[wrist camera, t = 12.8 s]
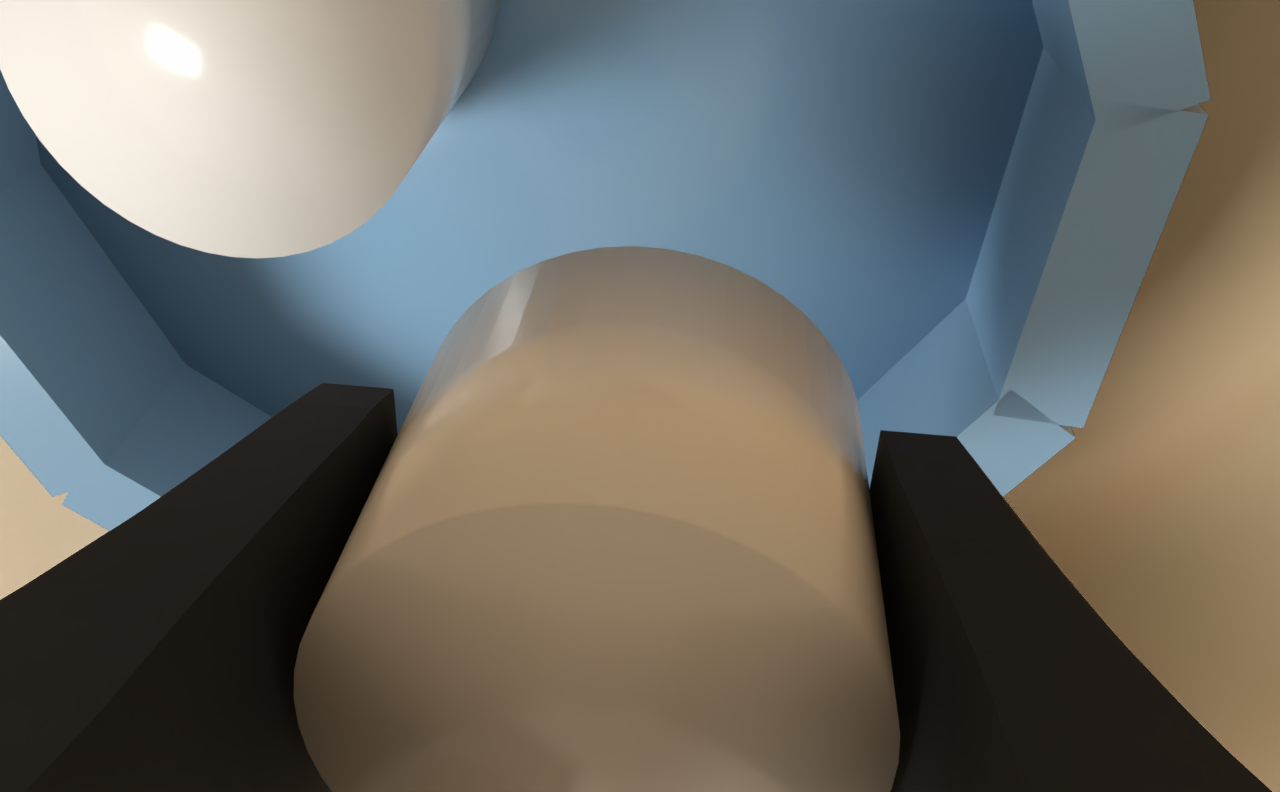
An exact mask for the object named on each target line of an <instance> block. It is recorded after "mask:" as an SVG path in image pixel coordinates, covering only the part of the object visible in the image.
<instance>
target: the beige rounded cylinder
mask: <svg viewBox="0 0 1280 792" xmlns="http://www.w3.org/2000/svg"><path fill="white" fill-rule="evenodd" d="M294 703H295V709H296V715H297V721H298V726H299V729H300V731H301V734H302V737H303V740H304V743H305V746H306V749H307V751H308V753H309V755H310V757H311V759H312V761H313V762H314V764H315V766H316V768H317V770H318V772H319V774H320V775H321V777H322V778H323V780H324V781H325V783H326V784H327V785H328V787H329V788H330V789H331V791H332V792H890V791H891V789H892V786H893V782H894V778H895V774H896V770H897V766H898V763H899V748H900V728H899V720H898V712H897V704H896V696H895V688H894V680H893V672H892V664H891V656H890V648H889V640H888V632H887V624H886V616H885V608H884V600H883V592H882V584H881V576H880V568H879V560H878V552H877V544H876V537H875V529H874V521H873V513H872V505H871V497H870V489H869V481H868V473H867V465H866V457H865V449H864V441H863V433H862V426H861V418H860V411H859V405H858V402H857V399H856V396H855V392H854V389H853V386H852V382H851V380H850V378H849V376H848V374H847V372H846V370H845V368H844V366H843V364H842V362H841V360H840V358H839V356H838V355H837V353H836V352H835V350H834V349H833V347H832V346H831V344H830V343H829V342H828V340H827V339H826V337H825V336H824V334H823V333H822V332H821V331H820V330H819V329H818V328H817V327H816V326H815V325H814V323H813V322H812V321H811V320H810V319H809V318H808V317H807V316H806V315H805V314H804V313H803V312H802V311H801V310H799V309H798V308H797V307H796V306H795V305H793V304H792V303H791V302H790V301H789V300H787V299H786V298H785V297H784V296H783V295H781V294H780V293H778V292H777V291H775V290H773V289H772V288H770V287H769V286H767V285H766V284H764V283H762V282H761V281H759V280H758V279H756V278H754V277H752V276H750V275H748V274H745V273H743V272H741V271H739V270H737V269H735V268H733V267H731V266H729V265H726V264H723V263H720V262H717V261H714V260H711V259H708V258H705V257H702V256H699V255H694V254H690V253H685V252H680V251H675V250H670V249H663V248H651V247H639V246H625V247H602V248H596V249H589V250H583V251H577V252H571V253H568V254H564V255H561V256H558V257H554V258H551V259H547V260H544V261H541V262H539V263H537V264H535V265H532V266H530V267H528V268H526V269H523V270H521V271H519V272H517V273H515V274H513V275H512V276H510V277H508V278H507V279H505V280H503V281H502V282H500V283H499V284H497V285H495V286H494V287H492V288H491V289H490V290H489V291H487V292H486V293H485V294H484V295H483V296H481V297H480V298H479V299H478V300H477V301H475V302H474V303H473V304H472V305H471V306H470V307H469V308H468V309H467V310H466V311H465V313H464V314H463V315H462V316H461V317H460V318H459V319H458V320H457V322H456V323H455V324H454V325H453V327H452V328H451V330H450V331H449V333H448V334H447V336H446V338H445V339H444V341H443V342H442V344H441V345H440V347H439V349H438V351H437V354H436V356H435V358H434V360H433V362H432V364H431V366H430V368H429V370H428V372H427V375H426V377H425V379H424V381H423V383H422V385H421V387H420V389H419V391H418V394H417V396H416V398H415V400H414V402H413V404H412V406H411V408H410V410H409V412H408V415H407V417H406V419H405V421H404V423H403V425H402V427H401V429H400V431H399V434H398V436H397V438H396V440H395V442H394V444H393V446H392V448H391V450H390V452H389V455H388V457H387V459H386V461H385V463H384V465H383V467H382V469H381V471H380V474H379V476H378V478H377V480H376V482H375V484H374V486H373V488H372V490H371V492H370V495H369V497H368V499H367V501H366V503H365V505H364V507H363V509H362V511H361V514H360V516H359V518H358V520H357V522H356V524H355V526H354V528H353V530H352V532H351V535H350V537H349V539H348V541H347V543H346V545H345V547H344V549H343V551H342V554H341V556H340V558H339V560H338V562H337V564H336V566H335V568H334V570H333V572H332V575H331V577H330V579H329V581H328V583H327V585H326V587H325V589H324V591H323V594H322V596H321V598H320V600H319V602H318V604H317V606H316V608H315V610H314V612H313V615H312V617H311V619H310V621H309V624H308V626H307V628H306V631H305V633H304V635H303V638H302V640H301V642H300V645H299V650H298V655H297V659H296V664H295V669H294Z"/></svg>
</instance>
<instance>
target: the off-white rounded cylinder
mask: <svg viewBox="0 0 1280 792" xmlns="http://www.w3.org/2000/svg"><path fill="white" fill-rule="evenodd" d="M498 11H499V0H0V70H1V72H2V75H3V77H4V79H5V82H6V84H7V87H8V89H9V91H10V93H11V95H12V96H13V98H14V100H15V102H16V104H17V106H18V107H19V109H20V111H21V113H22V115H23V116H24V118H25V119H26V121H27V122H28V124H29V125H30V127H31V128H32V130H33V131H34V133H35V134H36V136H37V137H38V139H39V140H40V141H41V143H42V144H43V145H44V146H45V147H46V149H47V150H48V151H49V152H50V153H51V155H52V156H53V157H54V158H55V159H56V161H57V162H58V163H59V164H60V165H61V166H62V167H63V168H64V169H65V170H66V171H67V172H68V173H69V174H70V175H71V176H72V177H73V178H74V179H75V180H76V181H77V182H78V183H79V184H80V185H81V186H82V187H83V188H85V189H86V190H87V191H88V192H90V193H91V194H92V195H93V196H94V197H96V198H97V199H98V200H99V201H101V202H102V203H103V204H104V205H106V206H107V207H109V208H110V209H112V210H113V211H115V212H116V213H118V214H119V215H121V216H122V217H124V218H125V219H127V220H128V221H130V222H132V223H134V224H136V225H138V226H139V227H141V228H143V229H145V230H147V231H149V232H151V233H153V234H155V235H157V236H159V237H162V238H164V239H167V240H169V241H172V242H174V243H177V244H179V245H182V246H186V247H189V248H192V249H196V250H199V251H203V252H206V253H212V254H218V255H223V256H229V257H241V258H272V257H284V256H289V255H294V254H299V253H304V252H308V251H311V250H314V249H317V248H320V247H323V246H325V245H328V244H331V243H333V242H335V241H336V240H338V239H340V238H342V237H344V236H346V235H348V234H350V233H352V232H353V231H354V230H356V229H357V228H358V227H360V226H361V225H362V224H364V223H365V222H367V221H368V220H369V219H371V218H372V217H373V216H374V215H375V214H376V213H377V212H378V211H379V210H380V209H381V208H382V207H383V206H384V205H385V204H386V203H387V201H388V200H389V199H390V197H391V196H392V195H393V193H394V192H395V190H396V189H397V188H398V186H399V185H400V184H401V182H402V181H403V179H404V178H405V176H406V175H407V173H408V172H409V170H410V169H411V168H412V166H413V165H414V163H415V162H416V160H417V159H418V157H419V156H420V154H421V153H422V151H423V150H424V149H425V147H426V146H427V144H428V143H429V141H430V140H431V138H432V137H433V135H434V134H435V132H436V131H437V129H438V128H439V127H440V125H441V124H442V122H443V121H444V119H445V118H446V116H447V115H448V113H449V112H450V110H451V109H452V107H453V106H454V105H455V103H456V102H457V100H458V99H459V97H460V96H461V94H462V93H463V91H464V90H465V88H466V87H467V85H468V84H469V83H470V81H471V80H472V78H473V77H474V75H475V74H476V72H477V71H478V69H479V67H480V65H481V63H482V61H483V59H484V57H485V55H486V53H487V51H488V48H489V45H490V42H491V40H492V37H493V34H494V30H495V26H496V21H497V16H498Z"/></svg>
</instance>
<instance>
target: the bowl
mask: <svg viewBox="0 0 1280 792" xmlns="http://www.w3.org/2000/svg"><path fill="white" fill-rule="evenodd" d="M1209 100H1211V99H1210V93H1209V87H1208V82H1207V76H1206V70H1205V65H1204V59H1203V53H1202V48H1201V42H1200V37H1199V31H1198V25H1197V20H1196V14H1195V8H1194V3H1193V0H499V11H498V16H497V21H496V26H495V30H494V34H493V37H492V40H491V42H490V45H489V48H488V51H487V53H486V55H485V57H484V59H483V61H482V63H481V65H480V67H479V69H478V71H477V72H476V74H475V75H474V77H473V78H472V80H471V81H470V83H469V84H468V85H467V87H466V88H465V90H464V91H463V93H462V94H461V96H460V97H459V99H458V100H457V102H456V103H455V105H454V106H453V107H452V109H451V110H450V112H449V113H448V115H447V116H446V118H445V119H444V121H443V122H442V124H441V125H440V127H439V128H438V129H437V131H436V132H435V134H434V135H433V137H432V138H431V140H430V141H429V143H428V144H427V146H426V147H425V149H424V150H423V151H422V153H421V154H420V156H419V157H418V159H417V160H416V162H415V163H414V165H413V166H412V168H411V169H410V170H409V172H408V173H407V175H406V176H405V178H404V179H403V181H402V182H401V184H400V185H399V186H398V188H397V189H396V190H395V192H394V193H393V195H392V196H391V197H390V199H389V200H388V201H387V203H386V204H385V205H384V206H383V207H382V208H381V209H380V210H379V211H378V212H377V213H376V214H375V215H374V216H373V217H372V218H371V219H369V220H368V221H367V222H365V223H364V224H362V225H361V226H360V227H358V228H357V229H356V230H354V231H353V232H352V233H350V234H348V235H346V236H344V237H342V238H340V239H338V240H336V241H335V242H333V243H331V244H328V245H325V246H323V247H320V248H317V249H314V250H311V251H308V252H304V253H299V254H294V255H289V256H284V257H272V258H241V257H229V256H223V255H218V254H212V253H206V252H203V251H199V250H196V249H192V248H189V247H186V246H182V245H179V244H177V243H174V242H172V241H169V240H167V239H164V238H162V237H159V236H157V235H155V234H153V233H151V232H149V231H147V230H145V229H143V228H141V227H139V226H138V225H136V224H134V223H132V222H130V221H128V220H127V219H125V218H124V217H122V216H121V215H119V214H118V213H116V212H115V211H113V210H112V209H110V208H109V207H107V206H106V205H104V204H103V203H102V202H101V201H99V200H98V199H97V198H96V197H94V196H93V195H92V194H91V193H90V192H88V191H87V190H86V189H85V188H83V187H82V186H81V185H80V184H79V183H78V182H77V181H76V180H75V179H74V178H73V177H72V176H71V175H70V174H69V173H68V172H67V171H66V170H65V169H64V168H63V167H62V166H61V165H60V164H59V163H58V162H57V161H56V159H55V158H54V157H53V156H52V155H51V153H50V152H49V151H48V150H47V149H46V147H45V146H44V145H43V144H42V143H41V141H40V140H39V139H38V137H37V136H36V134H35V133H34V131H33V130H32V128H31V127H30V125H29V124H28V122H27V121H26V119H25V118H24V116H23V115H22V113H21V111H20V109H19V107H18V106H17V104H16V102H15V100H14V98H13V96H12V95H11V93H10V91H9V89H8V87H7V84H6V82H5V79H4V77H3V75H2V72H1V70H0V436H1V437H2V438H3V439H4V441H5V442H6V443H7V444H8V445H9V446H10V448H11V449H12V450H13V451H14V452H15V454H16V455H17V456H18V457H19V458H20V459H21V461H22V462H23V463H24V464H25V465H26V466H27V468H28V469H29V470H30V471H31V472H32V474H33V475H34V476H35V477H36V478H37V479H38V481H39V482H40V483H41V484H42V485H43V487H44V488H45V489H46V490H47V491H48V492H49V494H50V495H51V496H52V497H54V496H57V495H60V494H63V493H66V492H69V493H68V495H67V496H66V498H65V500H64V502H63V503H62V505H63V506H65V507H67V508H69V509H71V510H72V511H74V512H76V513H78V514H80V515H82V516H83V517H85V518H87V519H89V520H91V521H92V522H94V523H96V524H98V525H100V526H101V527H103V528H105V529H107V530H109V531H111V530H112V529H114V528H115V527H117V526H118V525H120V524H122V523H123V522H125V521H126V520H128V519H129V518H131V517H132V516H134V515H136V514H137V513H138V512H140V511H141V510H143V509H144V508H146V507H147V506H149V505H150V504H152V503H153V502H154V501H156V500H157V499H159V498H160V497H161V496H163V495H164V494H166V493H167V492H169V491H170V490H171V489H173V488H174V487H176V486H177V485H179V484H180V483H181V482H183V481H184V480H186V479H187V478H188V477H190V476H191V475H193V474H194V473H196V472H197V471H198V470H200V469H201V468H203V467H204V466H206V465H207V464H208V463H210V462H211V461H213V460H214V459H215V458H217V457H218V456H220V455H221V454H222V453H224V452H225V451H227V450H228V449H229V448H231V447H232V446H234V445H235V444H236V443H238V442H239V441H240V440H242V439H243V438H245V437H246V436H247V435H249V434H250V433H251V432H253V431H254V430H256V429H257V428H258V427H260V426H261V425H262V424H264V423H265V422H267V421H268V420H269V419H271V418H272V417H274V416H275V415H276V414H278V413H279V412H280V411H282V410H283V409H285V408H286V407H287V406H289V405H290V404H292V403H293V402H295V401H296V400H297V399H299V398H300V397H302V396H303V395H305V394H306V393H308V392H309V391H311V390H312V389H314V388H316V387H317V386H319V385H320V384H322V383H330V384H342V385H353V386H365V387H377V388H389V389H394V400H395V410H396V421H397V432H398V434H399V431H400V429H401V427H402V425H403V423H404V421H405V419H406V417H407V415H408V412H409V410H410V408H411V406H412V404H413V402H414V400H415V398H416V396H417V394H418V391H419V389H420V387H421V385H422V383H423V381H424V379H425V377H426V375H427V372H428V370H429V368H430V366H431V364H432V362H433V360H434V358H435V356H436V354H437V351H438V349H439V347H440V345H441V344H442V342H443V341H444V339H445V338H446V336H447V334H448V333H449V331H450V330H451V328H452V327H453V325H454V324H455V323H456V322H457V320H458V319H459V318H460V317H461V316H462V315H463V314H464V313H465V311H466V310H467V309H468V308H469V307H470V306H471V305H472V304H473V303H474V302H475V301H477V300H478V299H479V298H480V297H481V296H483V295H484V294H485V293H486V292H487V291H489V290H490V289H491V288H492V287H494V286H495V285H497V284H499V283H500V282H502V281H503V280H505V279H507V278H508V277H510V276H512V275H513V274H515V273H517V272H519V271H521V270H523V269H526V268H528V267H530V266H532V265H535V264H537V263H539V262H541V261H544V260H547V259H551V258H554V257H558V256H561V255H564V254H568V253H571V252H577V251H583V250H589V249H596V248H602V247H625V246H639V247H651V248H663V249H670V250H675V251H680V252H685V253H690V254H694V255H699V256H702V257H705V258H708V259H711V260H714V261H717V262H720V263H723V264H726V265H729V266H731V267H733V268H735V269H737V270H739V271H741V272H743V273H745V274H748V275H750V276H752V277H754V278H756V279H758V280H759V281H761V282H762V283H764V284H766V285H767V286H769V287H770V288H772V289H773V290H775V291H777V292H778V293H780V294H781V295H783V296H784V297H785V298H786V299H787V300H789V301H790V302H791V303H792V304H793V305H795V306H796V307H797V308H798V309H799V310H801V311H802V312H803V313H804V314H805V315H806V316H807V317H808V318H809V319H810V320H811V321H812V322H813V323H814V325H815V326H816V327H817V328H818V329H819V330H820V331H821V332H822V333H823V334H824V336H825V337H826V339H827V340H828V342H829V343H830V344H831V346H832V347H833V349H834V350H835V352H836V353H837V355H838V356H839V358H840V360H841V362H842V364H843V366H844V368H845V370H846V372H847V374H848V376H849V378H850V380H851V382H852V386H853V389H854V392H855V396H856V399H857V402H858V405H859V411H860V418H861V426H862V433H863V441H864V449H865V457H866V465H867V473H868V481H869V489H870V484H871V479H872V473H873V468H874V463H875V457H876V452H877V447H878V441H879V436H880V431H881V430H885V431H897V432H909V433H920V434H932V435H944V436H956V437H957V438H958V440H959V441H960V442H961V443H962V445H963V446H964V447H965V448H966V450H967V451H968V452H969V453H970V455H971V456H972V457H973V458H974V460H975V461H976V462H977V464H978V465H979V466H980V468H981V469H982V470H983V471H984V473H985V474H986V475H987V477H988V478H989V479H990V481H991V482H992V483H993V485H994V486H995V487H996V488H997V490H998V491H999V492H1000V494H1001V495H1002V496H1004V495H1006V494H1007V493H1008V492H1009V491H1011V490H1012V489H1013V488H1014V487H1016V486H1017V485H1018V484H1019V483H1020V482H1022V481H1023V480H1024V479H1025V478H1027V477H1028V476H1029V475H1030V474H1032V473H1033V472H1034V471H1035V470H1037V469H1038V468H1039V467H1040V466H1042V465H1043V464H1044V463H1045V462H1047V461H1048V460H1049V459H1050V458H1051V457H1053V456H1054V455H1055V454H1056V453H1058V452H1059V451H1060V450H1061V449H1063V448H1064V447H1065V446H1066V445H1068V444H1069V443H1070V442H1071V441H1073V440H1074V439H1075V436H1074V433H1073V431H1072V428H1071V427H1078V428H1083V427H1084V425H1085V422H1086V420H1087V417H1088V415H1089V412H1090V410H1091V407H1092V405H1093V402H1094V400H1095V397H1096V395H1097V392H1098V390H1099V387H1100V385H1101V382H1102V380H1103V377H1104V375H1105V372H1106V370H1107V367H1108V365H1109V362H1110V360H1111V357H1112V355H1113V352H1114V350H1115V347H1116V345H1117V342H1118V340H1119V337H1120V335H1121V332H1122V330H1123V328H1124V325H1125V323H1126V320H1127V318H1128V315H1129V313H1130V310H1131V308H1132V305H1133V303H1134V300H1135V298H1136V295H1137V293H1138V290H1139V288H1140V285H1141V283H1142V280H1143V278H1144V275H1145V273H1146V270H1147V268H1148V265H1149V263H1150V260H1151V258H1152V255H1153V253H1154V250H1155V248H1156V245H1157V243H1158V240H1159V238H1160V235H1161V233H1162V231H1163V228H1164V226H1165V223H1166V221H1167V218H1168V216H1169V213H1170V211H1171V208H1172V206H1173V203H1174V201H1175V198H1176V196H1177V193H1178V191H1179V188H1180V186H1181V183H1182V181H1183V178H1184V176H1185V173H1186V171H1187V168H1188V166H1189V163H1190V161H1191V158H1192V156H1193V153H1194V151H1195V148H1196V146H1197V143H1198V141H1199V138H1200V136H1201V133H1202V131H1203V129H1204V126H1205V124H1206V121H1207V119H1208V116H1209V115H1208V114H1207V113H1206V112H1205V111H1204V110H1203V108H1202V107H1201V106H1200V105H1199V104H1200V103H1203V102H1206V101H1209Z"/></svg>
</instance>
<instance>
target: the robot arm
mask: <svg viewBox="0 0 1280 792" xmlns="http://www.w3.org/2000/svg"><path fill="white" fill-rule="evenodd" d="M397 436H398V432H397V421H396V410H395V400H394V389H389V388H377V387H365V386H353V385H342V384H330V383H322V384H320V385H319V386H317V387H316V388H314V389H312V390H311V391H309V392H308V393H306V394H305V395H303V396H302V397H300V398H299V399H297V400H296V401H295V402H293V403H292V404H290V405H289V406H287V407H286V408H285V409H283V410H282V411H280V412H279V413H278V414H276V415H275V416H274V417H272V418H271V419H269V420H268V421H267V422H265V423H264V424H262V425H261V426H260V427H258V428H257V429H256V430H254V431H253V432H251V433H250V434H249V435H247V436H246V437H245V438H243V439H242V440H240V441H239V442H238V443H236V444H235V445H234V446H232V447H231V448H229V449H228V450H227V451H225V452H224V453H222V454H221V455H220V456H218V457H217V458H215V459H214V460H213V461H211V462H210V463H208V464H207V465H206V466H204V467H203V468H201V469H200V470H198V471H197V472H196V473H194V474H193V475H191V476H190V477H188V478H187V479H186V480H184V481H183V482H181V483H180V484H179V485H177V486H176V487H174V488H173V489H171V490H170V491H169V492H167V493H166V494H164V495H163V496H161V497H160V498H159V499H157V500H156V501H154V502H153V503H152V504H150V505H149V506H147V507H146V508H144V509H143V510H141V511H140V512H138V513H137V514H136V515H134V516H132V517H131V518H129V519H128V520H126V521H125V522H123V523H122V524H120V525H118V526H117V527H115V528H114V529H112V530H111V531H109V532H107V533H106V534H104V535H103V536H101V537H100V538H98V539H97V540H95V541H93V542H92V543H90V544H89V545H87V546H86V547H84V548H82V549H81V550H79V551H78V552H76V553H75V554H73V555H72V556H70V557H68V558H67V559H65V560H64V561H62V562H61V563H59V564H57V565H56V566H54V567H53V568H51V569H50V570H48V571H47V572H45V573H43V574H42V575H40V576H39V577H37V578H36V579H34V580H32V581H31V582H29V583H28V584H26V585H25V586H23V587H21V588H20V589H18V590H16V591H15V592H13V593H11V594H10V595H8V596H6V597H5V598H3V599H1V600H0V792H332V791H331V789H330V788H329V787H328V785H327V784H326V783H325V781H324V780H323V778H322V777H321V775H320V774H319V772H318V770H317V768H316V766H315V764H314V762H313V761H312V759H311V757H310V755H309V753H308V751H307V749H306V746H305V743H304V740H303V737H302V734H301V731H300V729H299V726H298V721H297V715H296V709H295V703H294V669H295V664H296V659H297V655H298V650H299V645H300V642H301V640H302V638H303V635H304V633H305V631H306V628H307V626H308V624H309V621H310V619H311V617H312V615H313V612H314V610H315V608H316V606H317V604H318V602H319V600H320V598H321V596H322V594H323V591H324V589H325V587H326V585H327V583H328V581H329V579H330V577H331V575H332V572H333V570H334V568H335V566H336V564H337V562H338V560H339V558H340V556H341V554H342V551H343V549H344V547H345V545H346V543H347V541H348V539H349V537H350V535H351V532H352V530H353V528H354V526H355V524H356V522H357V520H358V518H359V516H360V514H361V511H362V509H363V507H364V505H365V503H366V501H367V499H368V497H369V495H370V492H371V490H372V488H373V486H374V484H375V482H376V480H377V478H378V476H379V474H380V471H381V469H382V467H383V465H384V463H385V461H386V459H387V457H388V455H389V452H390V450H391V448H392V446H393V444H394V442H395V440H396V438H397ZM870 497H871V505H872V513H873V521H874V529H875V537H876V544H877V552H878V560H879V568H880V576H881V584H882V592H883V600H884V608H885V616H886V624H887V632H888V640H889V648H890V656H891V664H892V672H893V680H894V688H895V696H896V704H897V712H898V720H899V728H900V748H899V763H898V766H897V770H896V774H895V778H894V782H893V786H892V789H891V791H890V792H1272V791H1271V790H1270V789H1269V788H1267V787H1266V786H1265V785H1264V784H1263V783H1262V782H1261V781H1260V780H1259V779H1258V778H1257V777H1255V776H1254V775H1253V774H1252V773H1251V772H1250V771H1249V770H1248V769H1247V768H1246V767H1244V766H1243V765H1242V764H1241V763H1240V762H1239V761H1238V760H1237V759H1236V758H1235V757H1234V756H1232V755H1231V754H1230V753H1229V752H1228V751H1227V750H1226V749H1225V748H1224V747H1223V746H1222V745H1221V744H1220V743H1219V742H1218V741H1217V740H1216V739H1215V738H1214V737H1213V736H1212V735H1211V734H1210V733H1209V732H1208V731H1207V730H1206V729H1205V728H1204V727H1203V726H1202V725H1201V724H1200V723H1199V722H1198V721H1197V720H1196V719H1195V718H1194V717H1193V716H1192V715H1191V714H1190V713H1189V712H1188V711H1187V710H1186V709H1185V708H1184V707H1183V706H1182V705H1181V704H1180V703H1179V702H1178V701H1177V700H1176V699H1175V698H1174V697H1173V696H1172V695H1171V694H1170V692H1169V691H1168V690H1167V689H1166V688H1165V687H1164V686H1163V685H1162V684H1161V683H1160V682H1159V681H1158V680H1157V679H1156V678H1155V677H1154V676H1153V675H1152V674H1151V672H1150V671H1149V670H1148V669H1147V668H1146V667H1145V666H1144V665H1143V664H1142V663H1141V662H1140V661H1139V660H1138V659H1137V658H1136V657H1135V656H1134V655H1133V654H1132V653H1131V651H1130V650H1129V649H1128V648H1127V647H1126V646H1125V645H1124V644H1123V643H1122V641H1121V640H1120V639H1119V638H1118V637H1117V636H1116V635H1115V634H1114V632H1113V631H1112V630H1111V629H1110V628H1109V627H1108V626H1107V625H1106V623H1105V622H1104V621H1103V620H1102V619H1101V617H1100V616H1099V615H1098V614H1097V613H1096V612H1095V610H1094V609H1093V608H1092V607H1091V606H1090V604H1089V603H1088V602H1087V601H1086V600H1085V599H1084V597H1083V596H1082V595H1081V594H1080V593H1079V591H1078V590H1077V589H1076V588H1075V587H1074V586H1073V584H1072V583H1071V582H1070V581H1069V580H1068V578H1067V577H1066V576H1065V575H1064V574H1063V572H1062V571H1061V570H1060V569H1059V568H1058V566H1057V565H1056V564H1055V563H1054V561H1053V560H1052V559H1051V558H1050V556H1049V555H1048V554H1047V553H1046V552H1045V550H1044V549H1043V548H1042V547H1041V545H1040V544H1039V543H1038V541H1037V540H1036V539H1035V538H1034V536H1033V535H1032V534H1031V533H1030V531H1029V530H1028V529H1027V527H1026V526H1025V525H1024V524H1023V522H1022V521H1021V520H1020V518H1019V517H1018V516H1017V515H1016V513H1015V512H1014V511H1013V509H1012V508H1011V507H1010V505H1009V504H1008V503H1007V502H1006V500H1005V499H1004V498H1003V496H1002V495H1001V494H1000V492H999V491H998V490H997V488H996V487H995V486H994V485H993V483H992V482H991V481H990V479H989V478H988V477H987V475H986V474H985V473H984V471H983V470H982V469H981V468H980V466H979V465H978V464H977V462H976V461H975V460H974V458H973V457H972V456H971V455H970V453H969V452H968V451H967V450H966V448H965V447H964V446H963V445H962V443H961V442H960V441H959V440H958V438H957V437H956V436H944V435H932V434H920V433H909V432H897V431H885V430H881V431H880V436H879V441H878V447H877V452H876V457H875V463H874V468H873V473H872V479H871V484H870Z"/></svg>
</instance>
